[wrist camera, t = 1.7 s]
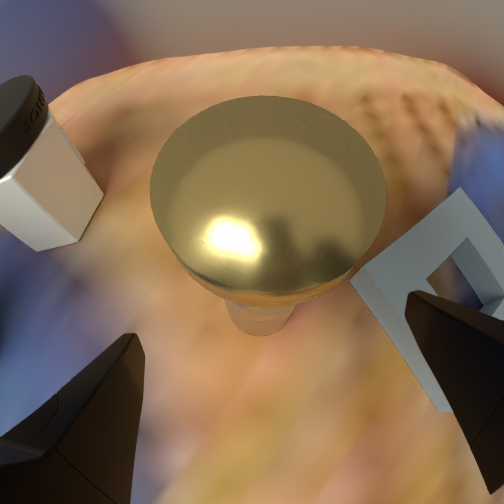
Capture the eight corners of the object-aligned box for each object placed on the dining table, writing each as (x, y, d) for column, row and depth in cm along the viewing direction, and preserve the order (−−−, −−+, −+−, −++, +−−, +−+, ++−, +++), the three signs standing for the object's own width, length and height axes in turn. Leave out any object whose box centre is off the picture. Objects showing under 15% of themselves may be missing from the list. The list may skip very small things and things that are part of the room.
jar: (118, 211, 23) (45, 100, 12) (44, 273, 21) (-58, 199, 10) (81, 153, 25) (26, 60, 14) (20, 205, 23) (-52, 130, 12)
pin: (319, 317, 20) (428, 206, 7) (246, 365, 18) (229, 347, 5) (271, 250, 21) (292, 76, 8) (200, 293, 20) (119, 152, 7)
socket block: (515, 311, 19) (537, 302, 16) (437, 411, 17) (461, 413, 14) (443, 205, 23) (460, 186, 20) (348, 281, 20) (362, 266, 18)
